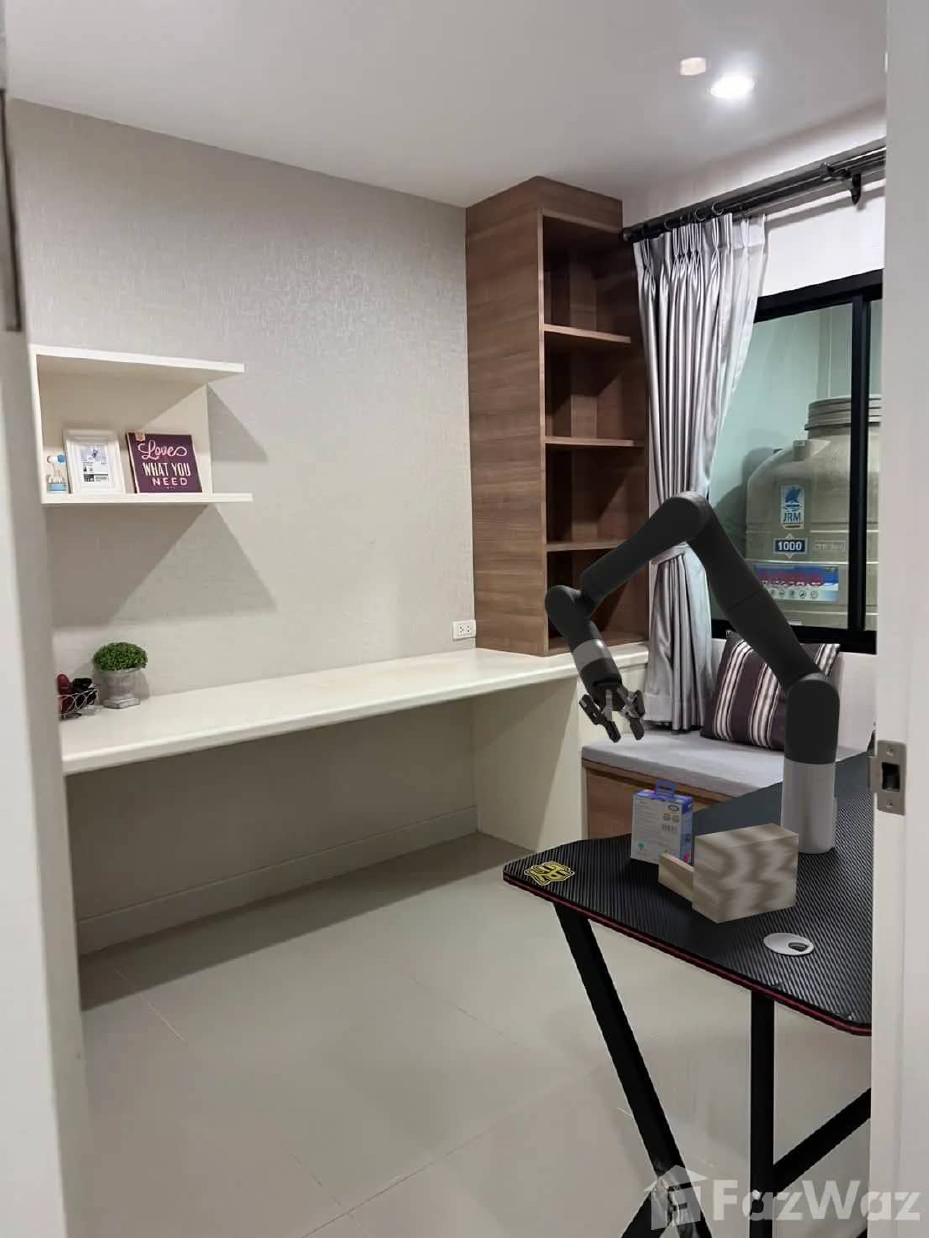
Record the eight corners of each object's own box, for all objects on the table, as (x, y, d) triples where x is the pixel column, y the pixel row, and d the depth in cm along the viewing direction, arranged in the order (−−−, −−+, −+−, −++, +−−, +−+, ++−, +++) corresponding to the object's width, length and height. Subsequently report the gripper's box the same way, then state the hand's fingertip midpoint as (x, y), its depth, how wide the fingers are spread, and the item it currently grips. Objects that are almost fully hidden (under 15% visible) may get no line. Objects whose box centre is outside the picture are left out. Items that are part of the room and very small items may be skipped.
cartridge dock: (724, 868, 166) (727, 803, 164) (795, 905, 150) (798, 834, 149) (651, 883, 159) (653, 815, 157) (717, 923, 144) (720, 848, 142)
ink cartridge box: (692, 861, 169) (695, 784, 167) (680, 871, 164) (683, 792, 163) (642, 850, 175) (645, 775, 173) (629, 858, 170) (632, 782, 168)
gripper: (573, 658, 181) (605, 732, 171) (634, 654, 187) (668, 725, 177) (558, 680, 186) (589, 753, 177) (618, 675, 192) (651, 746, 183)
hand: (629, 738), depth 177 cm, fingers open, 4 cm apart
